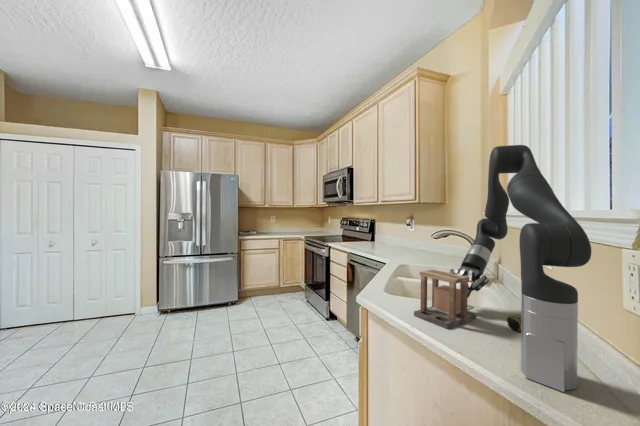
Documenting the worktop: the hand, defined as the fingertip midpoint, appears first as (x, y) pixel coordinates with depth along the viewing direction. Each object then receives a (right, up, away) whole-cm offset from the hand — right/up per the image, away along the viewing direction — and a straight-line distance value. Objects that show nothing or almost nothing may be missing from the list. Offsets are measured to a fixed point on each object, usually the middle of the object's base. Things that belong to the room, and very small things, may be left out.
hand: (458, 295), depth 94 cm
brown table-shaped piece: (-8, -6, -5) cm, 11 cm away
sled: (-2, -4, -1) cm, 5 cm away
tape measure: (+13, -7, -13) cm, 19 cm away
